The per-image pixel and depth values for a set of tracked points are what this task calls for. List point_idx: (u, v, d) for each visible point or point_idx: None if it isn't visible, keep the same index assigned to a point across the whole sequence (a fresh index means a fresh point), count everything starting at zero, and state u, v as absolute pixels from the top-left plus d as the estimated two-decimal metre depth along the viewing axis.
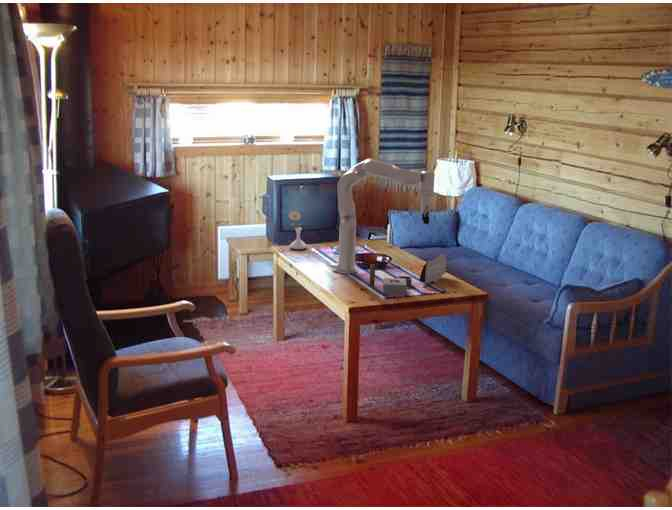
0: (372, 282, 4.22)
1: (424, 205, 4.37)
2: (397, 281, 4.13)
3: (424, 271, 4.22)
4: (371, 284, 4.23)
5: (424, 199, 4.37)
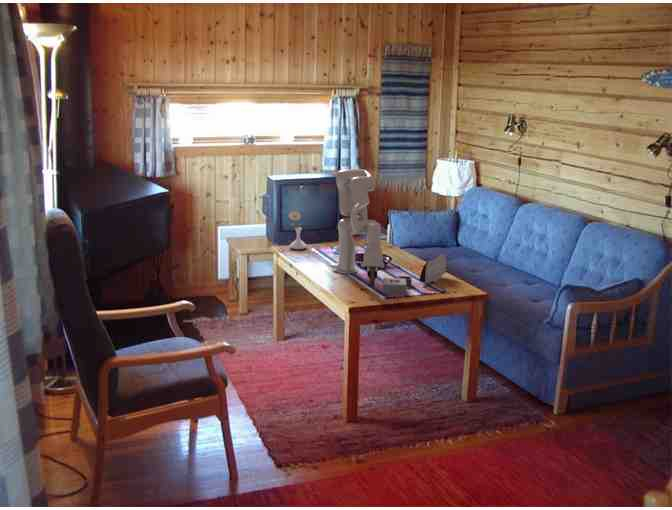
0: (372, 282, 4.22)
1: None
2: (397, 281, 4.13)
3: (424, 271, 4.22)
4: (371, 284, 4.23)
5: (381, 252, 4.18)
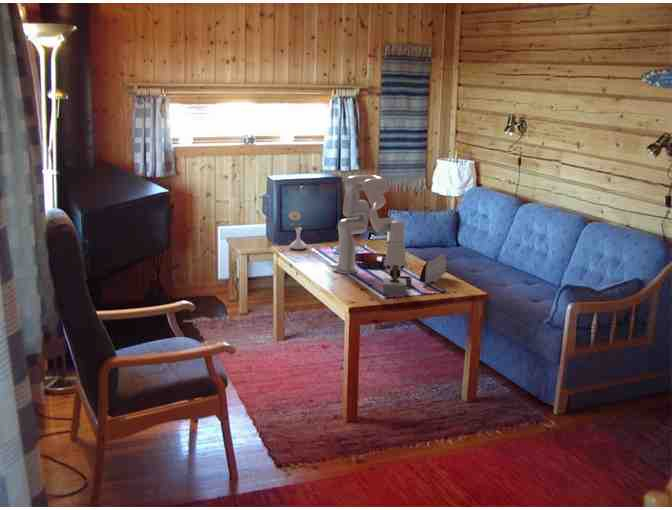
0: (395, 281, 4.11)
1: None
2: None
3: (424, 271, 4.22)
4: None
5: (404, 250, 4.07)
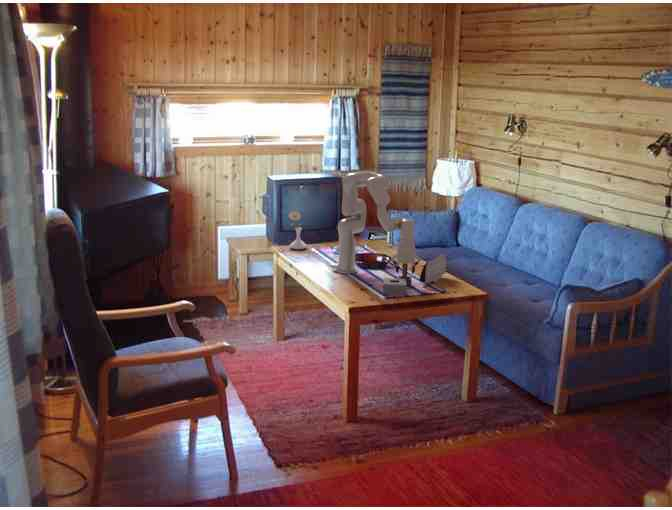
0: None
1: None
2: None
3: (424, 271, 4.22)
4: None
5: (414, 248, 4.19)
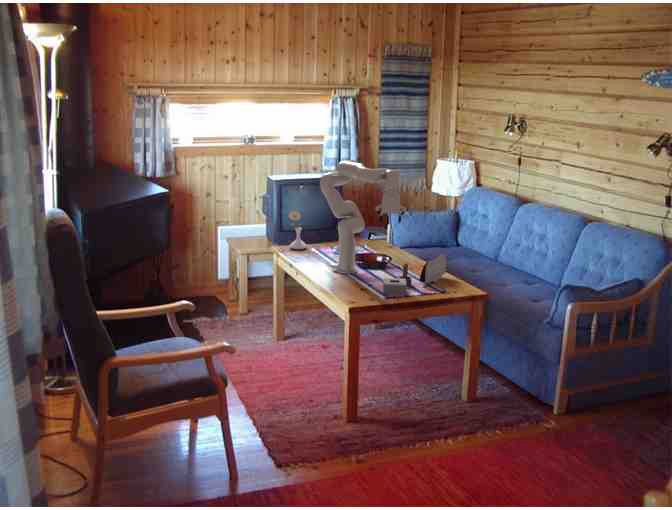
0: None
1: None
2: None
3: (424, 271, 4.22)
4: None
5: (399, 198, 4.23)
